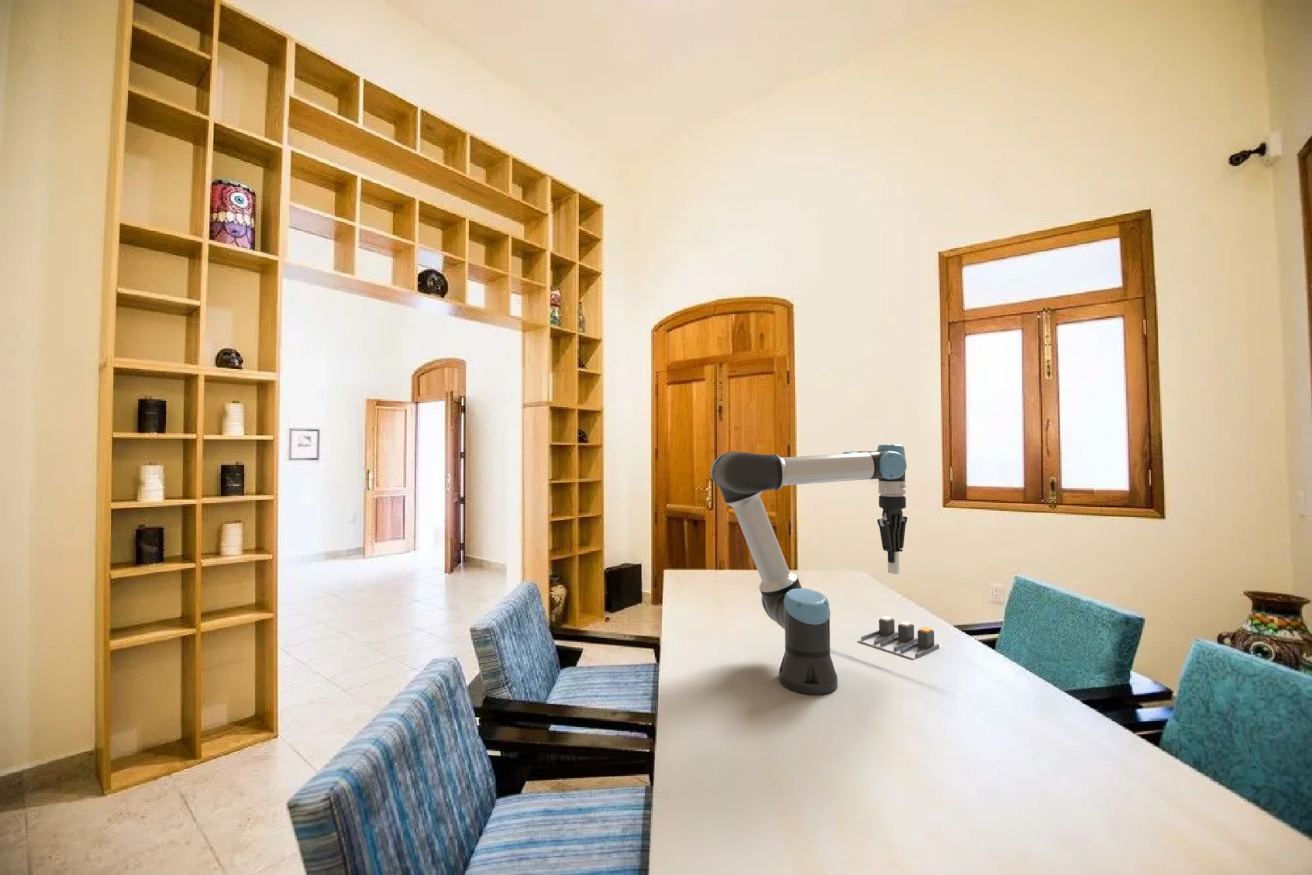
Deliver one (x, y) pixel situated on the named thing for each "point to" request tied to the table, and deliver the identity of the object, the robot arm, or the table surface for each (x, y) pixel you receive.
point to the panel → (904, 647)
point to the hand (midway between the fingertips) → (893, 572)
